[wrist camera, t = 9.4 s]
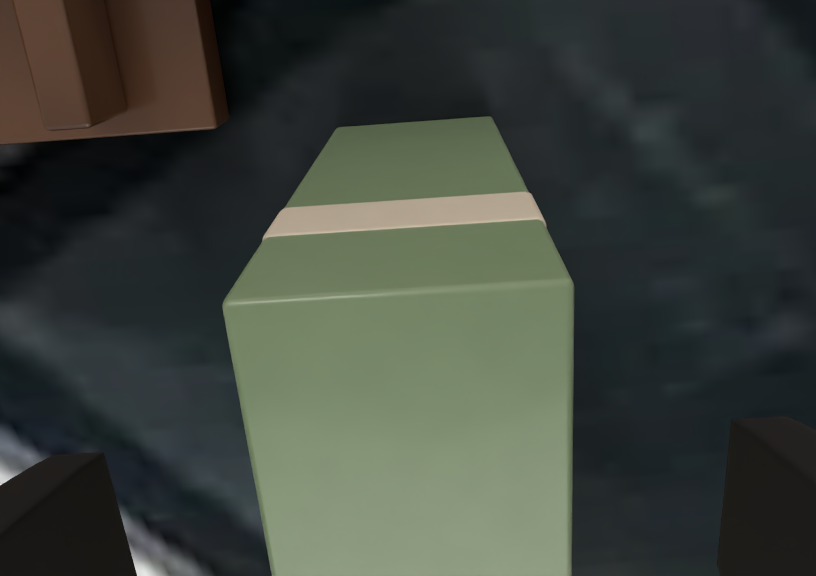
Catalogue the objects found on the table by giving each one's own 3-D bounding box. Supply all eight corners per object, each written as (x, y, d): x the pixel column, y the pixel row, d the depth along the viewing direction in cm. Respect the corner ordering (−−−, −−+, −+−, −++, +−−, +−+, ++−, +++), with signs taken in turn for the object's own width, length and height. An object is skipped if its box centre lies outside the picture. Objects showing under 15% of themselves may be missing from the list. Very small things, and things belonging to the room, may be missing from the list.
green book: (502, 408, 16) (572, 799, 8) (366, 415, 17) (310, 805, 9) (493, 114, 14) (579, 278, 6) (334, 125, 14) (215, 299, 6)
